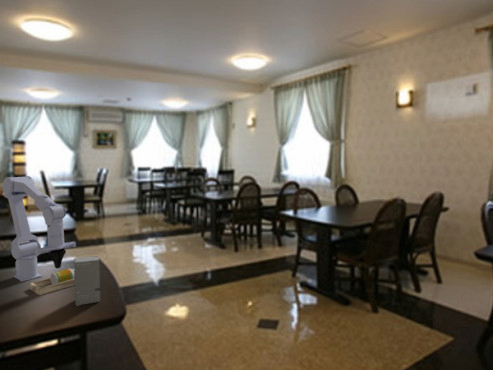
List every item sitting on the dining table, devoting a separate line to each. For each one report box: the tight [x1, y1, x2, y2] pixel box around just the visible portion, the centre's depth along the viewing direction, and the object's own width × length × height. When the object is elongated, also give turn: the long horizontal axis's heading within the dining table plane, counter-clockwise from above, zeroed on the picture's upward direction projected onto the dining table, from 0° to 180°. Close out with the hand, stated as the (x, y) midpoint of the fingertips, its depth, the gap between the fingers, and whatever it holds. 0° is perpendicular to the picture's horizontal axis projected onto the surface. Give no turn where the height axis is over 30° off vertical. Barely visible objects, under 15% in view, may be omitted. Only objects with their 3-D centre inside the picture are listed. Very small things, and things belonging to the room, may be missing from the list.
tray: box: [28, 277, 75, 296], centre depth 140 cm, size 10×20×2 cm, turn 141°
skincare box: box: [73, 255, 101, 307], centre depth 124 cm, size 8×7×16 cm
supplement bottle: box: [49, 268, 75, 285], centre depth 142 cm, size 5×5×10 cm
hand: (57, 267), depth 139 cm, fingers closed
